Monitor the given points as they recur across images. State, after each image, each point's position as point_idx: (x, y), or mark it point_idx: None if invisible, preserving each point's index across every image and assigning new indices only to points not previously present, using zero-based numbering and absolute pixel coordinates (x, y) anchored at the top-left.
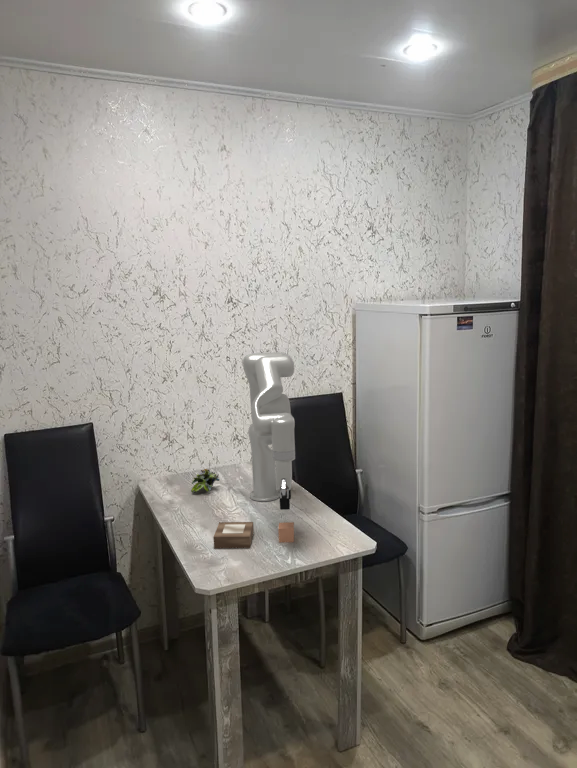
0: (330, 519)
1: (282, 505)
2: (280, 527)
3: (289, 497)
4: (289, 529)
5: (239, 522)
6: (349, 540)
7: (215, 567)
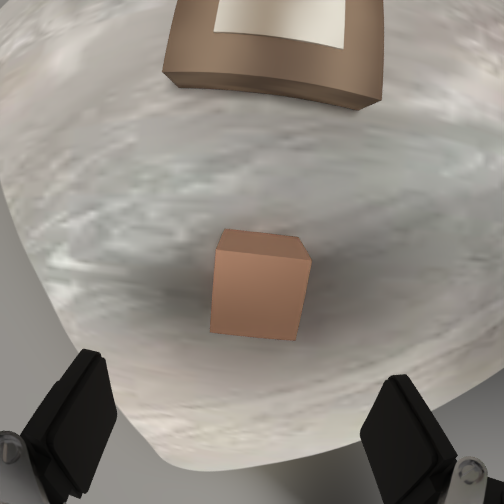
0: None
1: (49, 391)
2: (231, 264)
3: (80, 497)
4: (212, 310)
5: (378, 28)
6: (216, 447)
7: (59, 5)
